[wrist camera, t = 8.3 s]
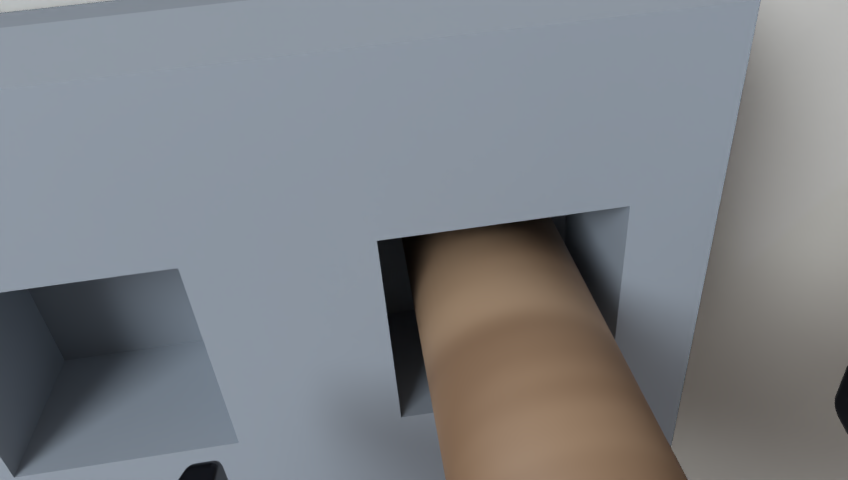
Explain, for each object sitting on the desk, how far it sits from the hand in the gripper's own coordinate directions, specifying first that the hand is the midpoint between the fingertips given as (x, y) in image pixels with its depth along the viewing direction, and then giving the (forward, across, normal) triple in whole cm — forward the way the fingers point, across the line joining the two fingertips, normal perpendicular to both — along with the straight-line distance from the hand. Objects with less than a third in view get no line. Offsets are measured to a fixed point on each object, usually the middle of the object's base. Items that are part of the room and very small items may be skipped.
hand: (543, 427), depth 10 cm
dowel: (+5, 0, 0) cm, 5 cm away
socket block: (+6, +4, 0) cm, 7 cm away
